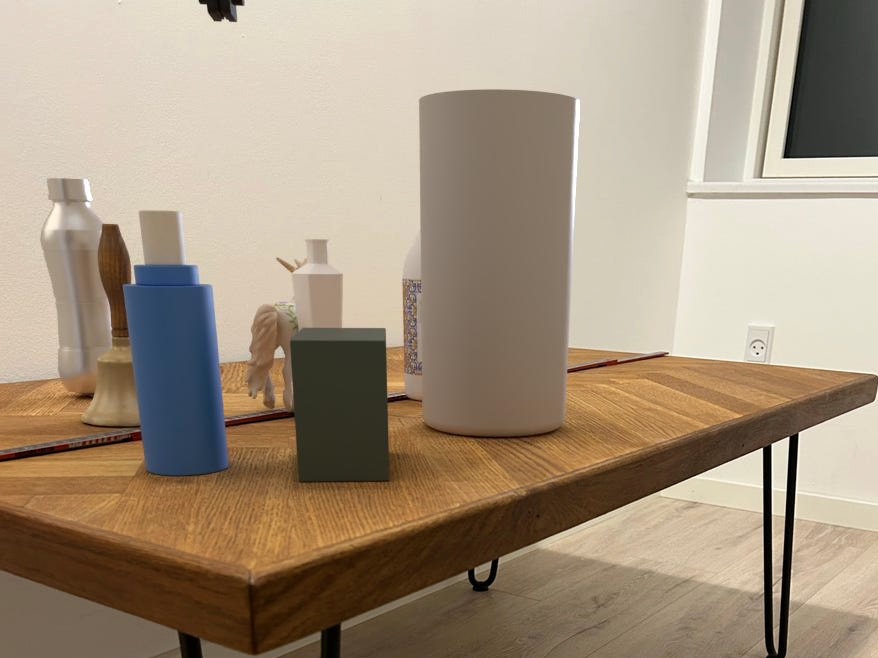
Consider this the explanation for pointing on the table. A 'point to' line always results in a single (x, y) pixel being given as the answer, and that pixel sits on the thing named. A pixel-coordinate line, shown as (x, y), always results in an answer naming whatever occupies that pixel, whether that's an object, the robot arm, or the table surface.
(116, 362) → the hand bell
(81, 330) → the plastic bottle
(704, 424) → the table surface
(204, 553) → the table surface
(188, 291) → the blue bottle
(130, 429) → the table surface
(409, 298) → the bath foam
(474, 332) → the cylinder vase
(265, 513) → the table surface
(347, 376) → the green block
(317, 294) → the perfume bottle
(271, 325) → the unicorn figurine
